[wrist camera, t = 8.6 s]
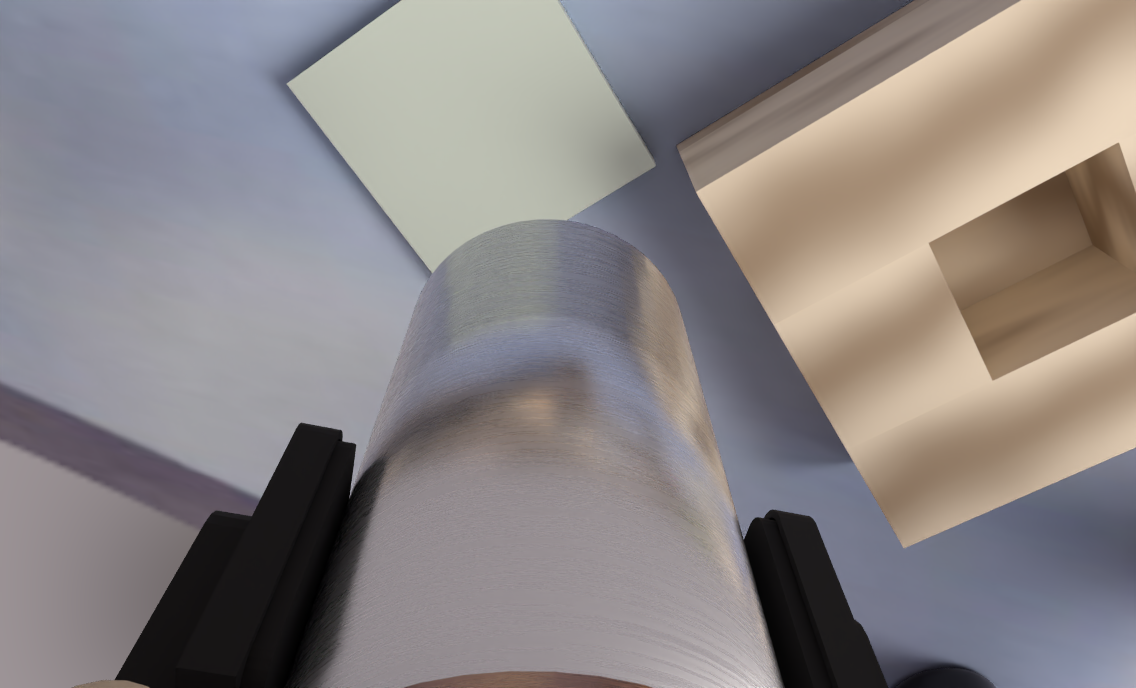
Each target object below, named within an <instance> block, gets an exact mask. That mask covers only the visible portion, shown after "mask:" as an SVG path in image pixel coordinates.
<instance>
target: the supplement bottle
mask: <svg viewBox="0 0 1136 688" xmlns="http://www.w3.org/2000/svg"><path fill="white" fill-rule="evenodd" d="M895 688H996V687H995V686H994V684H993V683H991V682H990V681H989V680H988V679H987V678H985V677H984V676H982V675H980V674H978V673H975V672H973V671H970V670H966V669H961V668H937V669H931V670H927V671H924V672H921V673H918V674H916V675H913V676H911V677H909V678H908V679H906V680H904V681H903V682H901V683H900V684H899V685H898V686H896V687H895Z"/></svg>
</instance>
